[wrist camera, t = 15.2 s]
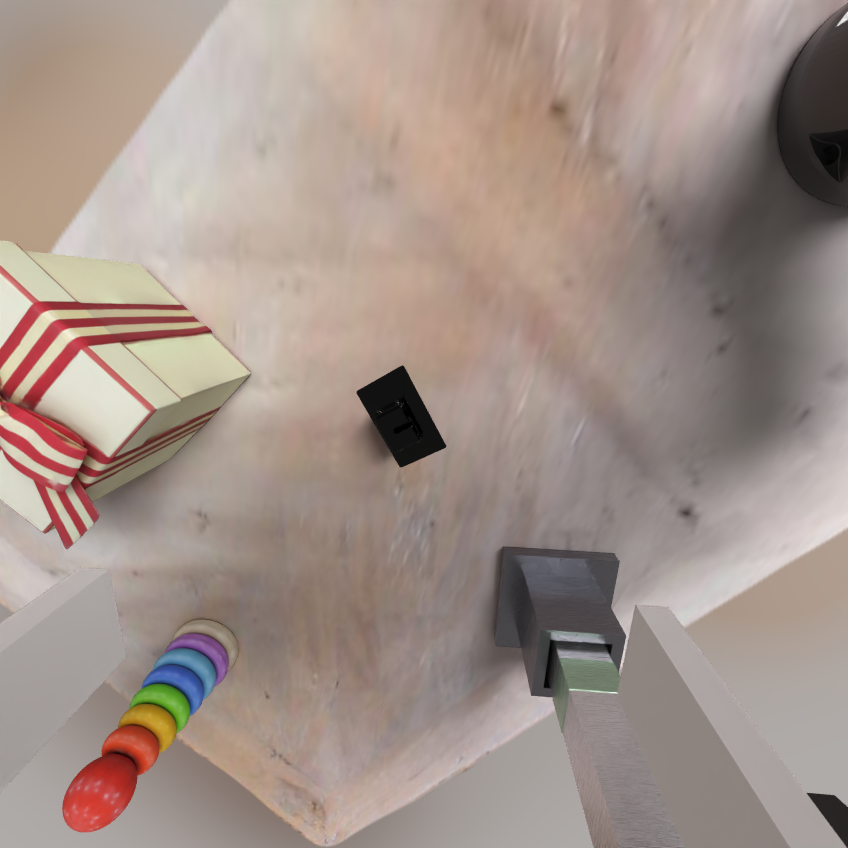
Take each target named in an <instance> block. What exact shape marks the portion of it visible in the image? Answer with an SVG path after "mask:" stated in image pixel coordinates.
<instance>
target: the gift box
mask: <svg viewBox="0 0 848 848" xmlns="http://www.w3.org/2000/svg"><path fill="white" fill-rule="evenodd" d="M250 374H251V372H250V371H249V370H248V369H247V368H246V367H245V366H244V365H243V364H242V363H241V362H240V361H239V360H238V359H237V358H236V357H235V356H234V355H233V354H232V353H231V352H230V351H229V350H227V349H226V348H225V347H224V346H223V345H222V344H221V342H220V341H219V340H218V339H217V338H216V337H215V336H213V335H212V331H211V330H210V329H209V328H208V327H207V326H205V325H203V324H202V323H200V322H199V321H198V320H197V319H196V318H195V317H194V316H193V315H192V314H191V313H190V311H189V310H188V309H187V308H185V307H184V306H183V305H181V303H180V302H179V301H178V300H177V299H176V298H175V297H174V296H173V295H172V294H171V293H170V292H169V291H167V290H166V289H165V288H164V287H163V286H162V285H161V284H160V283H159V282H158V281H157V280H156V279H155V278H154V277H153V276H152V275H151V274H150V273H149V272H148V271H147V270H146V269H145V268H144V267H143V266H142V265H139V264H133V263H124V262H117V261H108V260H99V259H90V258H82V257H74V256H65V255H56V254H47V253H38V252H30V251H24V250H23V249H22V248H21V247H19V246H18V245H17V244H16V243H14V242H7V241H0V499H1V500H2V501H3V502H4V503H6V504H7V505H8V506H10V507H11V508H12V509H13V510H15V511H16V512H17V513H18V514H20V515H21V516H22V517H23V518H25V519H26V520H27V521H28V522H30V523H31V524H32V525H33V526H35V527H36V528H37V529H38V530H40V531H41V532H43V533H47V532H49V531H50V530H52V529H54V528H56V530H57V532H58V533H59V536H60V538H61V540H62V542H63V544H64V546H65V548H66V549H68V548H69V547H71V546H72V545H73V544H74V543H75V542H76V541H77V540H78V539H79V538H81V536H82V535H83V534H84V533H85V532H86V531H87V530H88V529H89V528H90V527H92V525H93V524H94V523H95V522H96V521H97V519H98V518H99V513H98V510H97V509H96V507H95V506H94V504H93V501H95V500H97V499H99V498H100V497H102V496H104V495H106V494H108V493H109V492H111V491H113V490H115V489H116V488H118V487H120V486H122V485H124V484H126V483H127V482H129V481H131V480H133V479H135V478H136V477H138V476H140V475H142V474H144V473H145V472H147V471H149V470H151V469H153V468H155V467H157V466H158V465H160V464H162V463H164V462H166V461H168V460H169V459H171V458H172V457H173V456H174V455H175V454H176V453H177V452H178V451H179V450H180V449H181V448H182V446H183V445H184V444H185V443H186V442H187V441H188V440H189V439H190V438H191V437H192V436H193V435H194V434H195V433H196V432H197V431H198V430H199V429H200V428H201V427H202V426H203V425H204V424H206V422H207V421H209V419H210V418H211V417H212V416H213V415H214V414H215V413H216V412H217V411H218V410H219V408H220V407H221V406H222V405H223V404H224V403H225V401H226V400H227V399H228V398H229V397H230V396H231V395H232V394H233V393H234V392H235V391H236V390H237V389H238V388H239V386H240V385H241V384H242V383H243V382H244V381H245V380H246V379H247V378H248V376H249V375H250Z"/></svg>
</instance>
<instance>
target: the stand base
mask: <svg viewBox="0 0 848 848" xmlns="http://www.w3.org/2000/svg"><path fill="white" fill-rule="evenodd" d="M619 562H620V561H619V560H618V558H617V557H616V556H615V554H614V553H600V552H584V551H567V550H551V549H535V548H519V547H503V553H502V563H501V573H500V584H499V594H498V604H497V614H496V624H495V635H494V637H495V644H496V646H503V647H517V648H521V650H522V655H523V659H524V664H525V668H526V673H527V678H528V682H529V687H530V692H531V696H543V697H553V696H552V692H551V688H550V685H549V681H548V677H547V674H546V666H547V659H548V652H549V645H550V640H560V641H574V642H588V643H602V644H604V645H605V647H606V649H607V651H608V653H609V655H610V658H611V660H612V662H614V664H615V666H616V669H617V671H618V673H619V668H620V663H621V658H622V654H623V649H624V644H625V639H626V635H625V633H624V631H623V629H622V627H621V626H620V624H619V622H618V620H617V618H616V616H615V615H614V613H613V611H612V609H611V604H612V599H613V594H614V588H615V583H616V578H617V573H618V567H619Z"/></svg>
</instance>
